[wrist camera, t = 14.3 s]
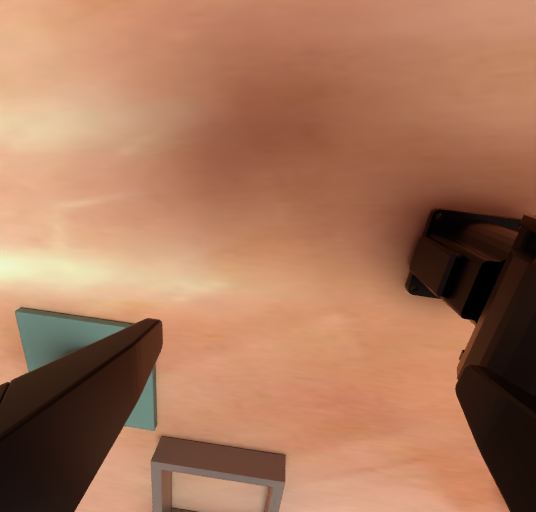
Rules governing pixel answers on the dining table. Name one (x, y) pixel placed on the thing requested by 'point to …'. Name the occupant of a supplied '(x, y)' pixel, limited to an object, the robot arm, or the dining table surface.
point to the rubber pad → (74, 338)
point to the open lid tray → (214, 469)
